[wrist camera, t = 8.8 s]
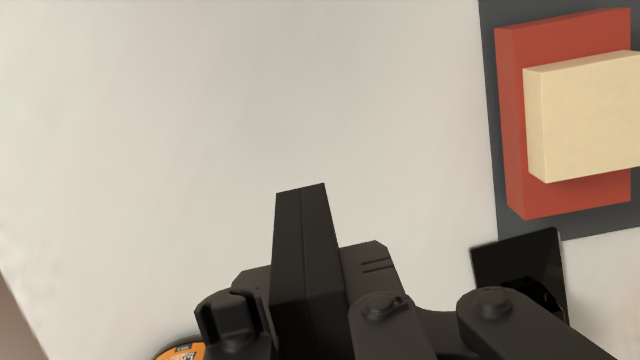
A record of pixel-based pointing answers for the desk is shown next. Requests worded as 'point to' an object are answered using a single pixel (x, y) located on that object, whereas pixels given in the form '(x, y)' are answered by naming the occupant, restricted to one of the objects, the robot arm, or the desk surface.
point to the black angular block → (525, 268)
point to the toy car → (568, 111)
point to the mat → (497, 11)
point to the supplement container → (183, 349)
